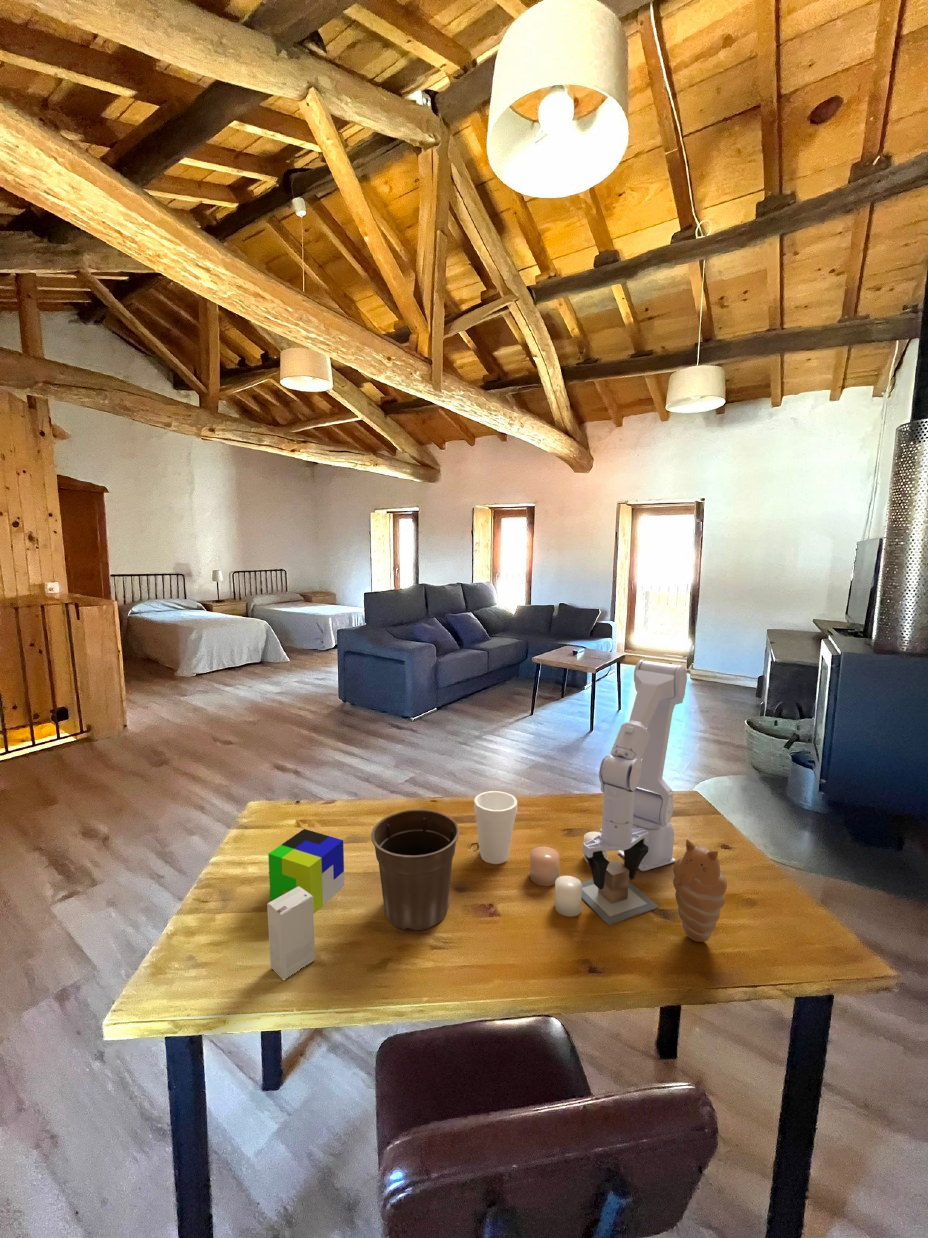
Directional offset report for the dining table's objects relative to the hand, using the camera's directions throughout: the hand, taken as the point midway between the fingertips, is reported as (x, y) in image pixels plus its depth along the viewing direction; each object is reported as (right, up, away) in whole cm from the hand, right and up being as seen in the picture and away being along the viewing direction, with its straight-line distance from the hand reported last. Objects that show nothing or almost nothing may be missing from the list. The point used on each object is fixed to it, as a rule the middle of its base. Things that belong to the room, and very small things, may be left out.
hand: (614, 881), depth 106 cm
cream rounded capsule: (-10, -4, -3) cm, 11 cm away
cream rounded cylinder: (0, -1, +13) cm, 13 cm away
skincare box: (-58, -6, -17) cm, 61 cm away
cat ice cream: (+12, -5, -11) cm, 17 cm away
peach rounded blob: (-13, -2, +7) cm, 15 cm away
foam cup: (-23, -1, +14) cm, 27 cm away
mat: (0, -3, 0) cm, 3 cm away
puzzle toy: (-60, -3, +1) cm, 61 cm away
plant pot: (-39, -4, -4) cm, 39 cm away
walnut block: (0, -3, +1) cm, 3 cm away
